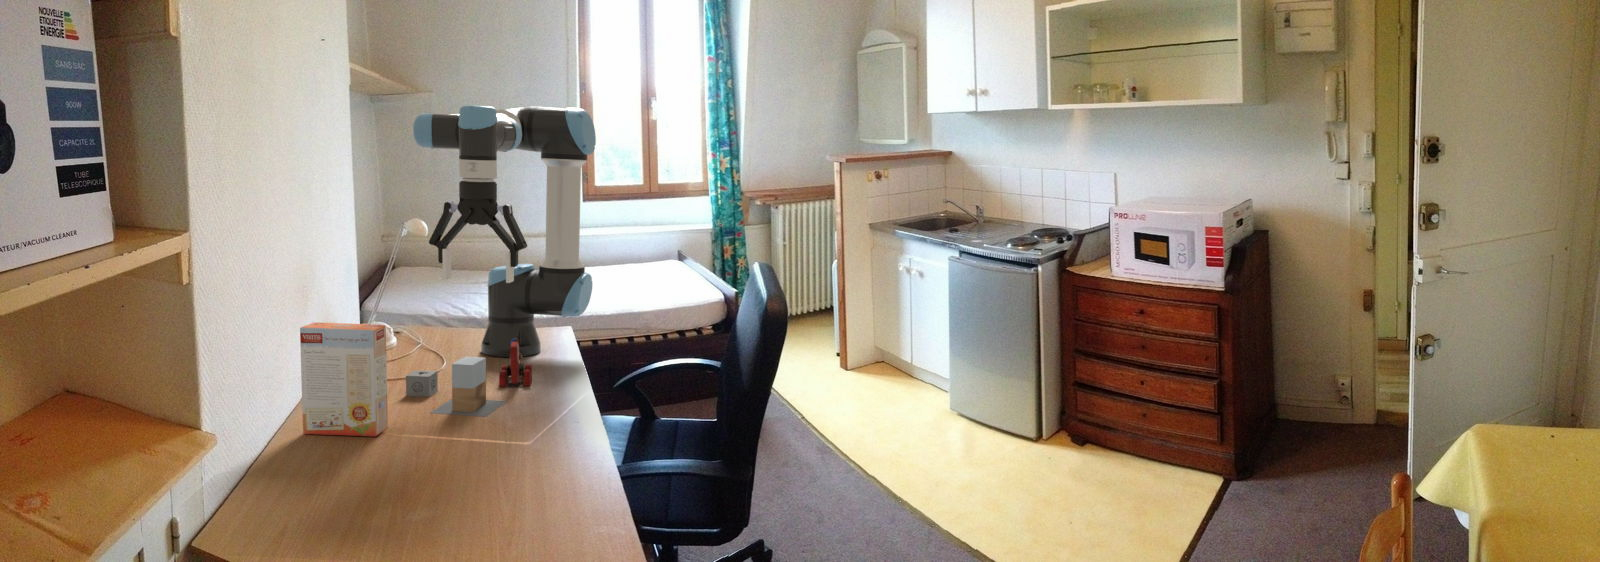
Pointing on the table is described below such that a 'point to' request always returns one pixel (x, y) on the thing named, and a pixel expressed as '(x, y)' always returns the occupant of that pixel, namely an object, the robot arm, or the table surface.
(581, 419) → the table surface
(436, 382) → the dice cube
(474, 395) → the tower base
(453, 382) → the tower mid
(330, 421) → the cracker box
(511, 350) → the toy fire truck
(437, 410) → the mat
